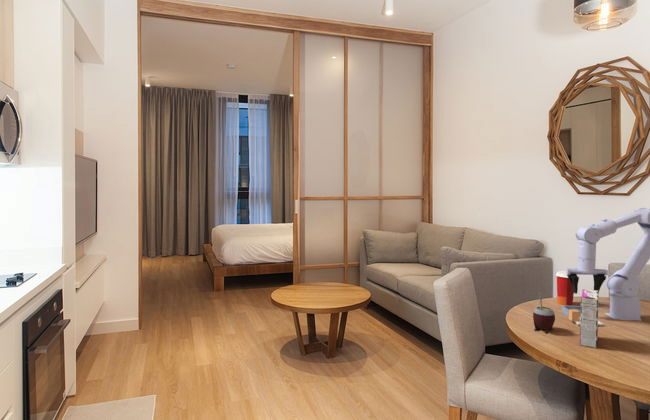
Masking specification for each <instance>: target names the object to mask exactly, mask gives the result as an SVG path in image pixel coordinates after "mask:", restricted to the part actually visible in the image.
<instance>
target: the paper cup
mask: <svg viewBox="0 0 650 420" xmlns="http://www.w3.org/2000/svg"><path fill="white" fill-rule="evenodd" d="M555 276H556V297H557V299H556V300H557V304H558V305H560V306H573V304H574V296H575V293H573V289H572V285H571V282H570V280H569V278H568V276H567V274H565V270H558V271H557V272H556V274H555Z"/></svg>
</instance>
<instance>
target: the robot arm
mask: <svg viewBox="0 0 650 420" xmlns="http://www.w3.org/2000/svg"><path fill="white" fill-rule="evenodd" d="M636 223H637V224H638V225H639V227H640V228H641V231H642V232H643V234H644V235H643V237H642V238H641V239H640V241H639V243H638V245H637V246H636V248H634V250H633V251H632V254H631V255H630V256H629V258H628V259H627V261H626V262H625V264H624V266H623V267H622V268H621V269H618V270H616V271H614V273H613V275H611V276H609V275H608V273H609V270H608V269H604V268H602V269H600V268H596V262H597V261H596V259H597V243H598V242H599V241H600V240H601V239H602V238H605V237H607V236H610V235H613V234H615V233H616V232H617V231H618V230H617V229H620V228H623V227H626V226H630V225H633V224H636ZM575 238H576V239H577V240H578V241H577V243H578V259H577V260H578V261H577V267H575V268H565V270H564V271H565V274H567V276H568V278H569V280H570V282H571V285H572V289H573V293H574V295H576V294H578V290H579V289H578V288H579V287H578V286H579V285H578V284H579V281H580V277H579V276H578V275H582V276H583V275H585V276H586V275H589V276H590V275H591V276H593V277H592V278H593V290H596V291H598V292H599V293H600V290H601V287H602V285H603V284H604V282H605V281H606V282H605V284H606V287H607V290H609V293H610V296H609V312H605V313H604V314H605V315H607V316H608V317H610V318H612V319H613V320H616V321H617V320H618V321H620V320H621V321H639V322H641V321H642V319H641V309H642V304H641V303H642V302H641V299H640V298H639V296H638V295H637V294H638V291H639V286H640V284H641V280H640V277H639V275H640V274H641V272H642V271H643V269H644V268H645V266H646V264H647V263H648V262H649V260H650V208H645V207H640V208H638V209H634V210H633V211H631V212H629V213H627V214H624V215H622V216H620V217H618V218H615V219H613V220H612V219H607V218H602V219H601V221H599V222H596V223H590V224H589V226H581V227H580V228H579V229H578V230H577V232H576V233H575ZM607 276H609V277H608V278H607Z"/></svg>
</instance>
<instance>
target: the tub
mask: <svg viewBox="0 0 650 420" xmlns="http://www.w3.org/2000/svg"><path fill="white" fill-rule="evenodd" d="M569 309H580V310H578V311H579V312H580V317H581V305H571V306H565V305H561V313H562V314H564V315H565V316H566V317H568V318H569Z"/></svg>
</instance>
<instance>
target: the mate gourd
mask: <svg viewBox="0 0 650 420" xmlns="http://www.w3.org/2000/svg"><path fill="white" fill-rule="evenodd" d="M537 293H538V295H539V296H538V297H539V305H540V306H537V307H535V309H534V310H533V312H532V313H533V314H532V319H533V327H534V331H535V332H541V331H543V332H544V334H547V335H548V334H549V330H550V331H552V330H553V327H554V324H555V322H556V315H555V312H554V310H553V309H552V308H550V307H548V306H543V301H542V300H543V298H542V297H543V296H542V294H541V293H540V292H537Z"/></svg>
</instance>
